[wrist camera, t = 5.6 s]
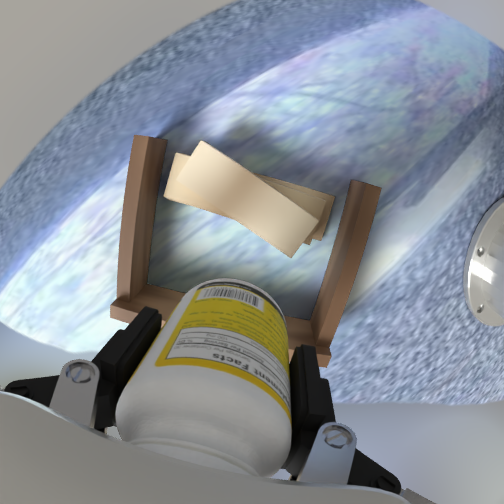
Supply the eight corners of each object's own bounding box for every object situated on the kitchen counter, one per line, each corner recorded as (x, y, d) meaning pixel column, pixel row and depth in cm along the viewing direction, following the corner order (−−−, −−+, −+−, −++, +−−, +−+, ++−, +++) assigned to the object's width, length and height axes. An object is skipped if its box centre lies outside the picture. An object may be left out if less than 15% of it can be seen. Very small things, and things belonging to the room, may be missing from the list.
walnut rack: (364, 183, 20) (387, 189, 15) (318, 333, 23) (326, 367, 19) (154, 138, 20) (127, 133, 15) (134, 291, 23) (110, 317, 19)
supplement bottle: (218, 384, 15) (173, 548, 6) (155, 307, 14) (41, 461, 5) (308, 344, 14) (327, 538, 5) (247, 252, 13) (182, 444, 4)
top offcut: (315, 217, 19) (318, 221, 18) (289, 252, 20) (290, 258, 18) (205, 141, 18) (201, 140, 17) (181, 178, 19) (175, 179, 17)
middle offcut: (322, 199, 20) (326, 201, 19) (307, 240, 21) (309, 245, 20) (181, 153, 20) (175, 152, 18) (169, 194, 20) (163, 196, 19)
